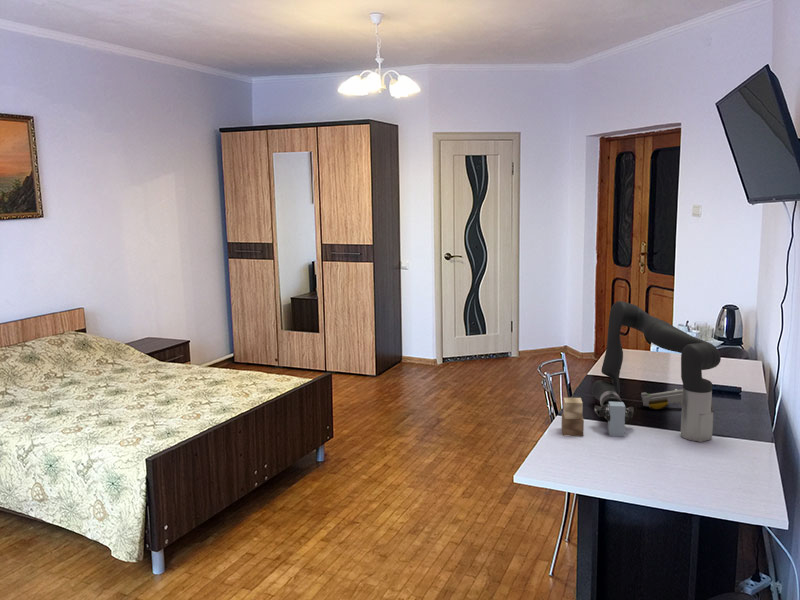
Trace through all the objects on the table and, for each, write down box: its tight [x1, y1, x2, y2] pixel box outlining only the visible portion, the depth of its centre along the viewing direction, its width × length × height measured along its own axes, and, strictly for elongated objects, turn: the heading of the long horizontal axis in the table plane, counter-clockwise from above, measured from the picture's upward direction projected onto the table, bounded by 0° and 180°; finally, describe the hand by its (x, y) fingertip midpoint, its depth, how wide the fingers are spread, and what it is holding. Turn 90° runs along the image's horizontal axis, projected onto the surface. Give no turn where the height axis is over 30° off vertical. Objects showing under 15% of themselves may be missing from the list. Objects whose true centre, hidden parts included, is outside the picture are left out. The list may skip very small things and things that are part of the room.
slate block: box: [607, 401, 626, 438], centre depth 233 cm, size 5×5×11 cm
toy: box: [640, 388, 715, 412], centre depth 258 cm, size 6×25×11 cm, turn 79°
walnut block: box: [560, 412, 585, 437], centre depth 236 cm, size 7×7×6 cm
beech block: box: [562, 397, 584, 419], centre depth 235 cm, size 6×6×6 cm
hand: (617, 418), depth 230 cm, fingers closed on slate block, 5 cm apart
